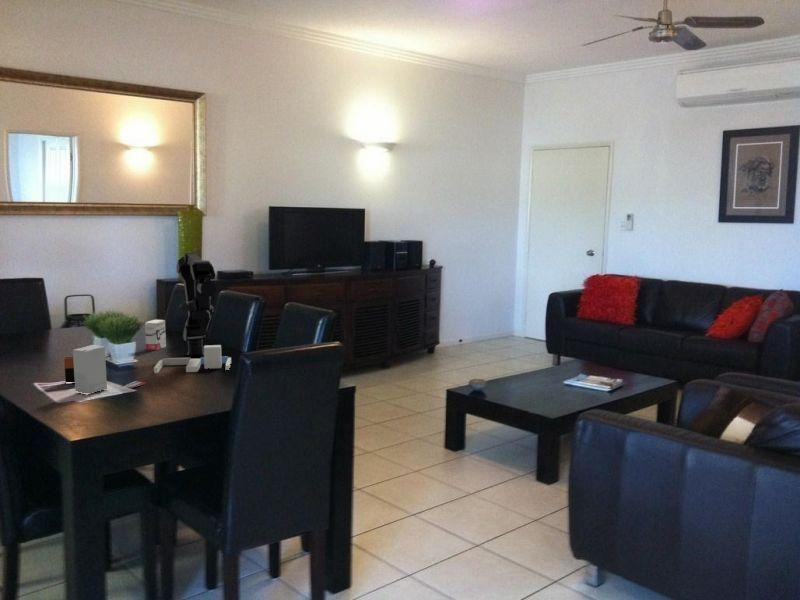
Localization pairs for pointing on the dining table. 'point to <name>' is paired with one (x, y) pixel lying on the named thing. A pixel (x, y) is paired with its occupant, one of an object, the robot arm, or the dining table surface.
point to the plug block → (212, 356)
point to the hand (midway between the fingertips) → (203, 333)
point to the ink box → (155, 334)
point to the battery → (69, 368)
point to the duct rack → (188, 363)
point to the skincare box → (90, 369)
